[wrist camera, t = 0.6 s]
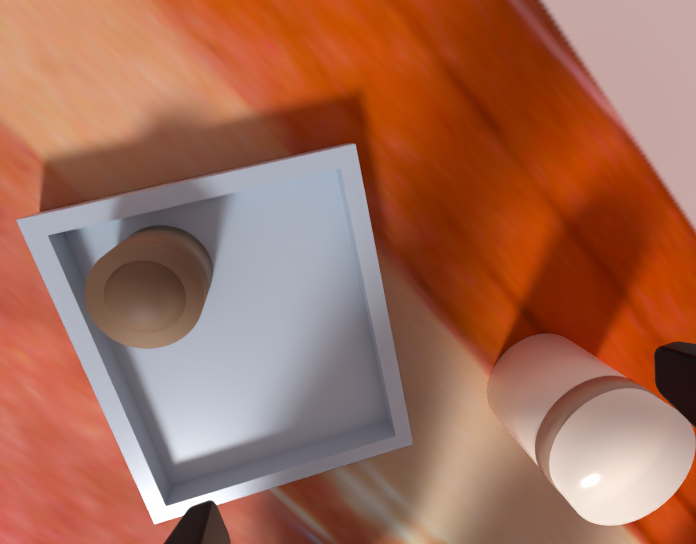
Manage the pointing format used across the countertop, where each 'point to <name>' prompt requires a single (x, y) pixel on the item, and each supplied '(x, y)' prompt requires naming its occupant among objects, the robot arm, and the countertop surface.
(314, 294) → the tray
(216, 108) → the countertop surface
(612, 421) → the cream lidded jar
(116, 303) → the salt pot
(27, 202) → the countertop surface
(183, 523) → the robot arm
